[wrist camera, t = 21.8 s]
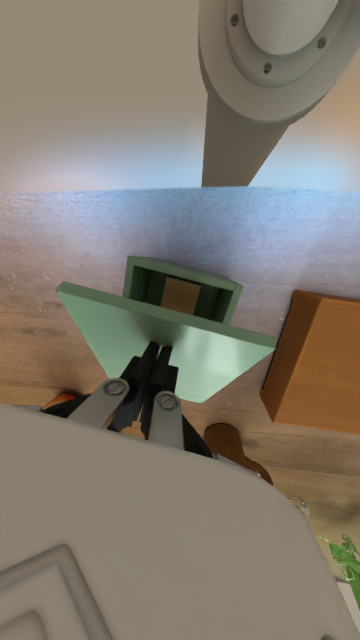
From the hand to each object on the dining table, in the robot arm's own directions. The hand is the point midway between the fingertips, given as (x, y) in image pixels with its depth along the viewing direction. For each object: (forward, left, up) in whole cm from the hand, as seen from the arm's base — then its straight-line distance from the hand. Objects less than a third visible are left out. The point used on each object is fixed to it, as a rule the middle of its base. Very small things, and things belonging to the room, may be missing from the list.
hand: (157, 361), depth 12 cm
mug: (+26, +18, -17) cm, 36 cm away
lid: (+2, 0, -4) cm, 4 cm away
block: (-2, 0, -16) cm, 16 cm away
